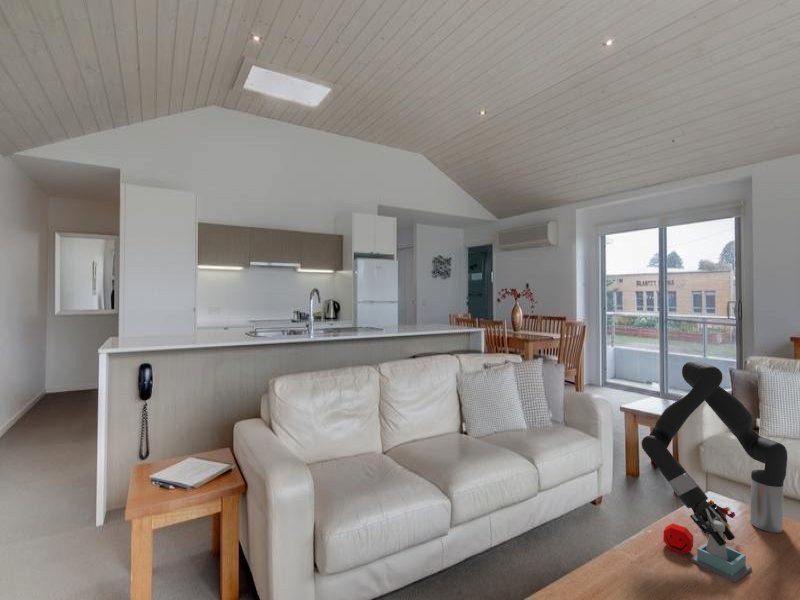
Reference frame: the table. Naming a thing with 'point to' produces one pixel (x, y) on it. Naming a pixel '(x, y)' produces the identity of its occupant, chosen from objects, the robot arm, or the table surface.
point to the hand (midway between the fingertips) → (727, 541)
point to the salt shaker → (713, 545)
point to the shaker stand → (723, 563)
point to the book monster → (724, 512)
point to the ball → (678, 538)
